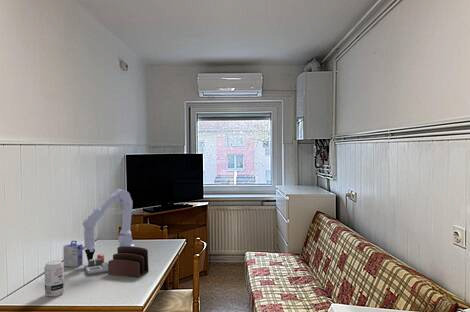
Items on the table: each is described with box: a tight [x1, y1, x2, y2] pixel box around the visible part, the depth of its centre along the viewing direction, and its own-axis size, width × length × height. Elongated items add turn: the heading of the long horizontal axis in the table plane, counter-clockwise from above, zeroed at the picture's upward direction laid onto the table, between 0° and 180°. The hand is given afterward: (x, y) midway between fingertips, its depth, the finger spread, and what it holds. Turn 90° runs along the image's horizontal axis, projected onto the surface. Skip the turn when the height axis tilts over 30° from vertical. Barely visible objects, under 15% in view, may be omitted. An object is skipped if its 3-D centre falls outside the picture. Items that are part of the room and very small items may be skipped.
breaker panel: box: [83, 262, 108, 277], centre depth 224 cm, size 13×17×2 cm
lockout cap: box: [96, 254, 105, 263], centre depth 238 cm, size 4×4×5 cm
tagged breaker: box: [87, 258, 95, 267], centre depth 228 cm, size 3×4×3 cm
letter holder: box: [107, 246, 150, 278], centre depth 217 cm, size 10×20×14 cm, turn 72°
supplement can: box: [43, 260, 65, 297], centre depth 186 cm, size 8×8×15 cm
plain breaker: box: [94, 258, 102, 265], centre depth 230 cm, size 3×4×3 cm
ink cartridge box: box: [62, 240, 84, 268], centre depth 234 cm, size 10×6×14 cm, turn 78°
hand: (90, 261), depth 233 cm, fingers closed
